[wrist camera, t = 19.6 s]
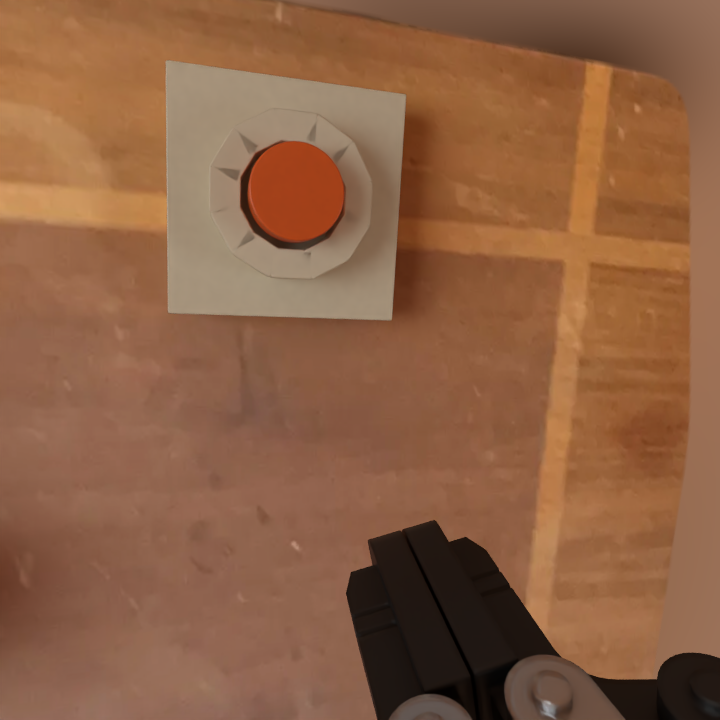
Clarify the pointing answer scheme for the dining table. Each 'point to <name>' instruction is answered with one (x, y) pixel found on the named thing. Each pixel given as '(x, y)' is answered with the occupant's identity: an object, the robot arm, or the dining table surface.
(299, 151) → the button
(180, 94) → the control block
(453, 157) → the dining table surface
